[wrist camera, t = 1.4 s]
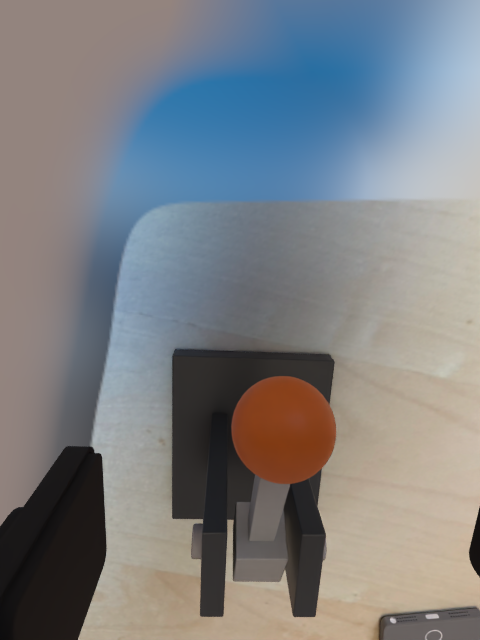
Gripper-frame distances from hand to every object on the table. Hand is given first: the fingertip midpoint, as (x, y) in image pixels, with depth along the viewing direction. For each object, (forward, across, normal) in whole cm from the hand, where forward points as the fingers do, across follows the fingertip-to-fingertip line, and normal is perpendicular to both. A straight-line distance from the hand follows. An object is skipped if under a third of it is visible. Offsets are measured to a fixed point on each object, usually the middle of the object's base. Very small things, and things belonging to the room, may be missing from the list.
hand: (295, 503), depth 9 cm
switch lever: (+6, 0, +3) cm, 7 cm away
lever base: (+16, 0, +8) cm, 18 cm away
